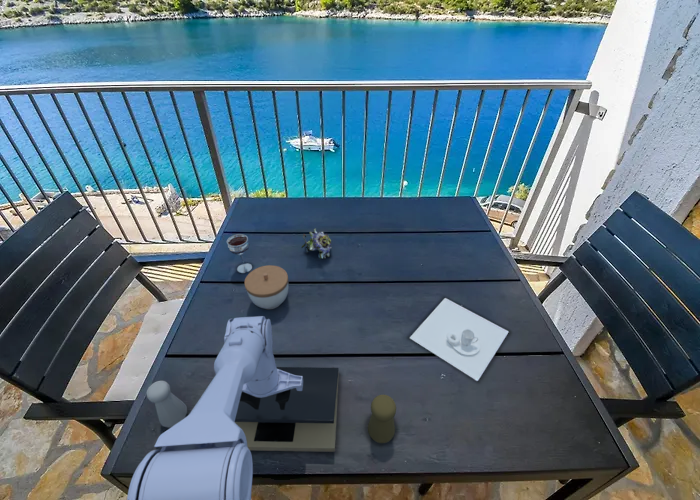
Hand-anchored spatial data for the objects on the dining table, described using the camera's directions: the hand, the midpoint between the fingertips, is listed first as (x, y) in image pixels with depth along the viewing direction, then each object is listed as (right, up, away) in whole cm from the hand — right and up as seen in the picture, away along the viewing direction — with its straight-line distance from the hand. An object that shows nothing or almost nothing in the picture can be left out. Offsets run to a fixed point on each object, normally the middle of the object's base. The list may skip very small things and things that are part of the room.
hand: (270, 404), depth 71 cm
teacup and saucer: (+47, +8, +26) cm, 54 cm away
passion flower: (+4, +30, +55) cm, 63 cm away
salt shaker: (-23, -7, +9) cm, 26 cm away
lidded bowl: (-8, +16, +37) cm, 41 cm away
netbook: (0, -5, +10) cm, 11 cm away
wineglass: (-20, +25, +49) cm, 59 cm away
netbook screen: (0, -1, +7) cm, 7 cm away
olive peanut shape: (+23, -8, +6) cm, 25 cm away
